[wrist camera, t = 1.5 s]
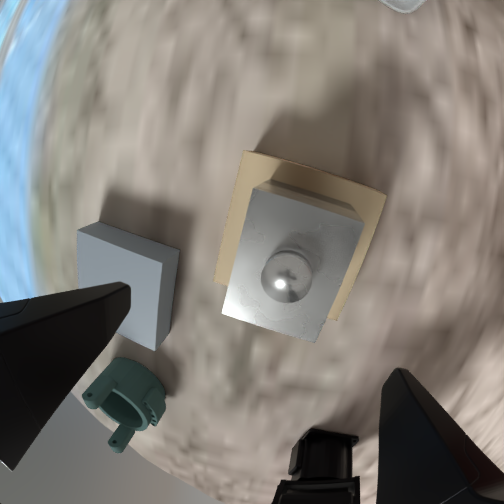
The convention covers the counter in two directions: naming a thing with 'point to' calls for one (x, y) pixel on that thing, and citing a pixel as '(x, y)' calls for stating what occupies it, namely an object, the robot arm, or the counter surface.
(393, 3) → the salad plate
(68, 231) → the counter surface
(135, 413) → the bracket
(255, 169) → the stand oak
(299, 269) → the block
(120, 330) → the stand slate
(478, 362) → the counter surface
